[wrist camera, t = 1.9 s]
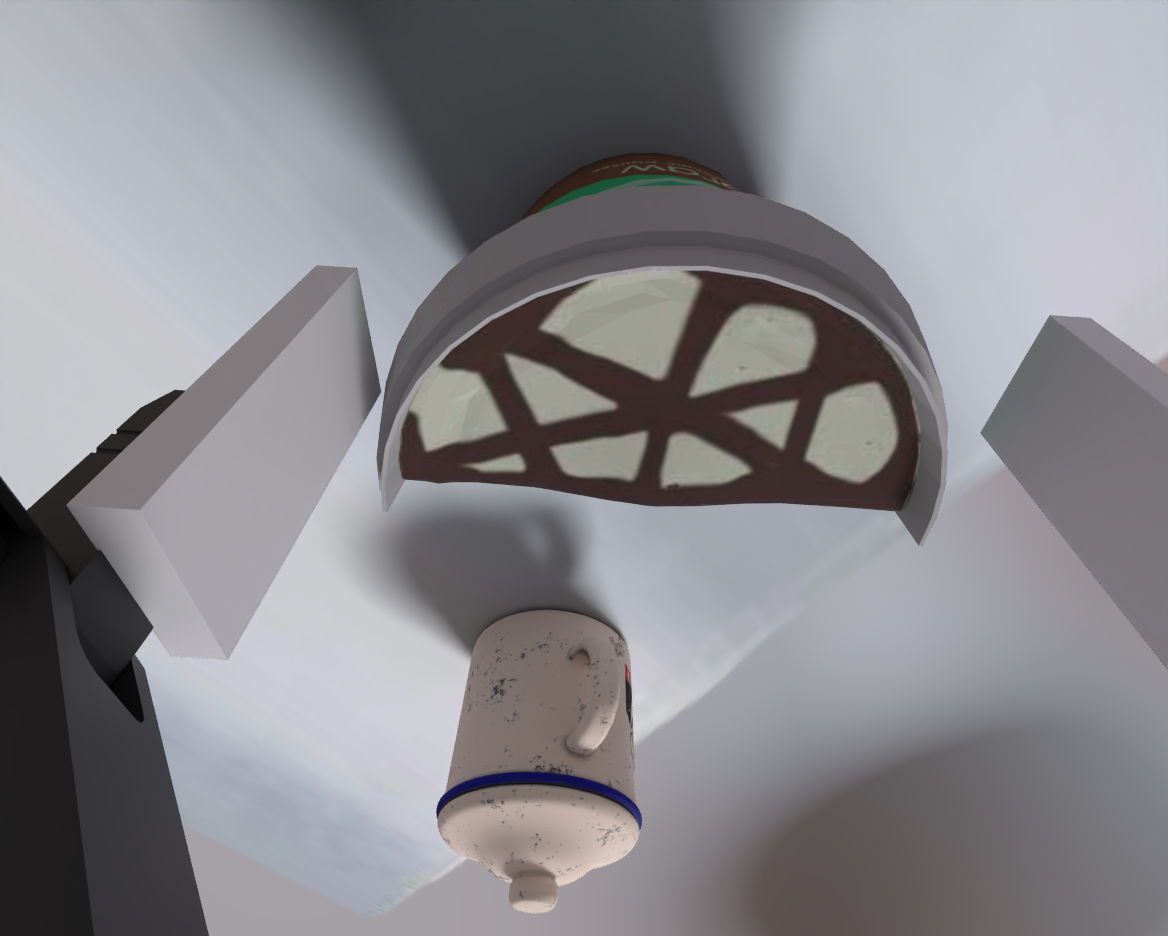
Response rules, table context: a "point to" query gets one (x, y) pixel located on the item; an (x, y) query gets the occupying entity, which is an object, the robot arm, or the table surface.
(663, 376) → the food container
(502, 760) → the teacup with lid
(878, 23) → the table surface
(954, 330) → the table surface
